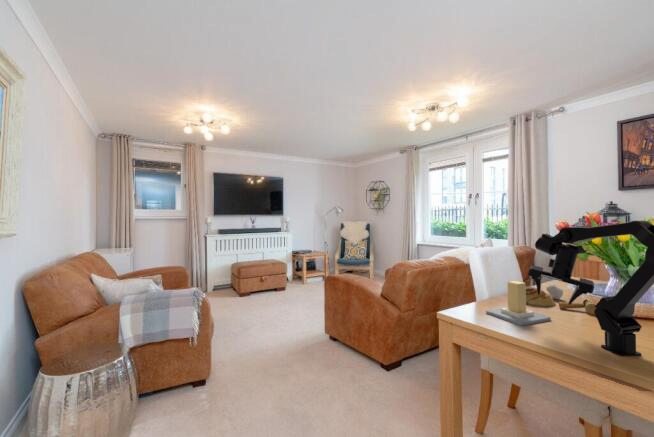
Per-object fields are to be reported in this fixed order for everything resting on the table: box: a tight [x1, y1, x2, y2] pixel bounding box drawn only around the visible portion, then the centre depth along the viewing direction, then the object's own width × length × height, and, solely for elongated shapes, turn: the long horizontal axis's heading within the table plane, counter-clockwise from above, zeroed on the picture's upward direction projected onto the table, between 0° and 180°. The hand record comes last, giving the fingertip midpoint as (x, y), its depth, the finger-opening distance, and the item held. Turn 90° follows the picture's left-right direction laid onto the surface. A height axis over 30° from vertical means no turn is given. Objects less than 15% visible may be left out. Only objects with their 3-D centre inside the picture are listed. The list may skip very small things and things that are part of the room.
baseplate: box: [485, 306, 552, 327], centre depth 122 cm, size 16×16×3 cm
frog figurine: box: [545, 284, 564, 300], centre depth 146 cm, size 6×7×7 cm
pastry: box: [526, 285, 557, 307], centre depth 142 cm, size 13×15×8 cm
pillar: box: [507, 280, 527, 313], centre depth 122 cm, size 4×4×13 cm
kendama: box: [558, 298, 599, 315], centre depth 127 cm, size 8×6×18 cm
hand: (553, 299), depth 110 cm, fingers open, 9 cm apart
